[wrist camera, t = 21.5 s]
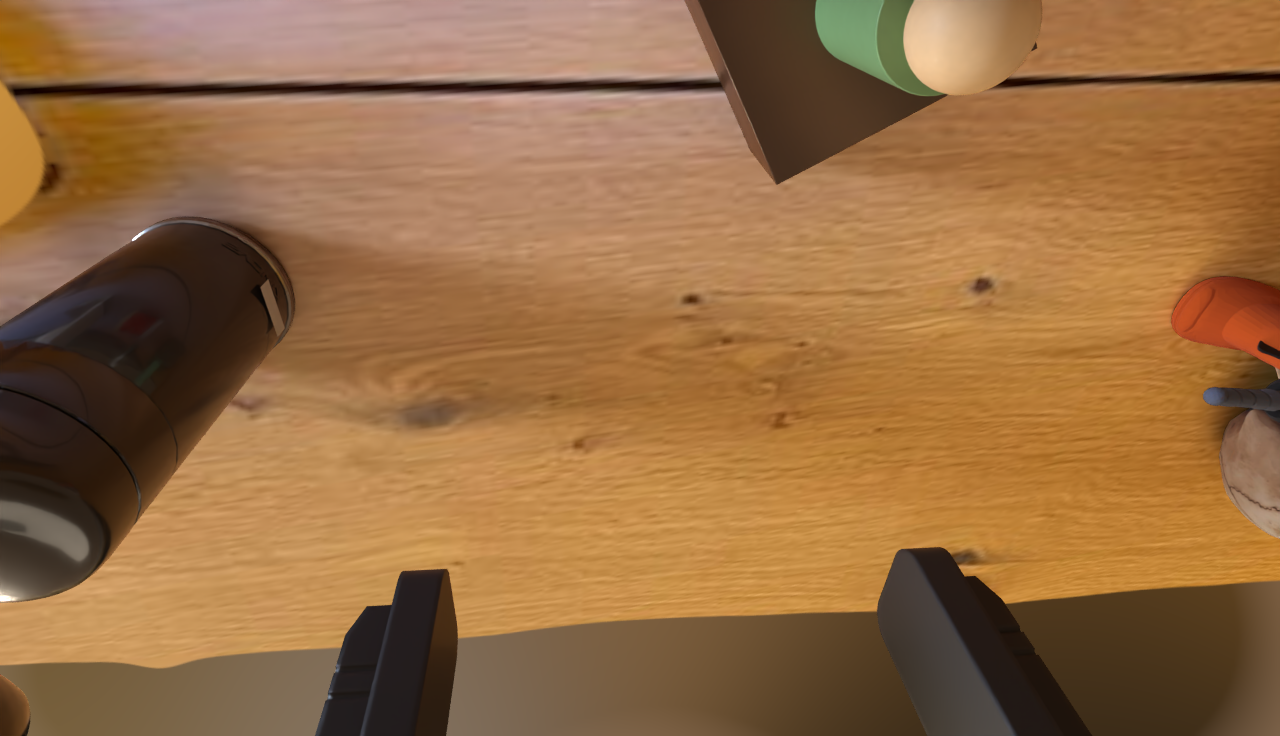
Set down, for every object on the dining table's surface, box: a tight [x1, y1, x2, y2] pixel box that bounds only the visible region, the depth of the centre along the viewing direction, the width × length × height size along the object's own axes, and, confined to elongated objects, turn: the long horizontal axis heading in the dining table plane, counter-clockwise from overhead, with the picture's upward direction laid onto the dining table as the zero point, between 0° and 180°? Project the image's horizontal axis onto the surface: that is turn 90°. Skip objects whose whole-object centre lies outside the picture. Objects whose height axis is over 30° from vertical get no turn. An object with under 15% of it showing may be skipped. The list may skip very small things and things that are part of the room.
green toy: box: [815, 0, 1042, 96], centre depth 25 cm, size 5×5×11 cm
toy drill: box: [1171, 276, 1280, 423], centre depth 40 cm, size 5×19×15 cm, turn 79°
